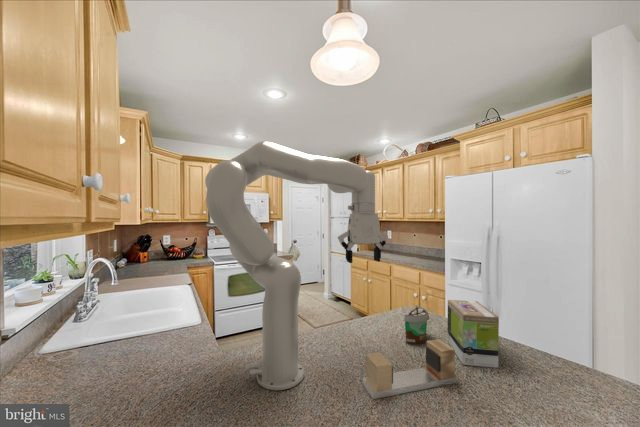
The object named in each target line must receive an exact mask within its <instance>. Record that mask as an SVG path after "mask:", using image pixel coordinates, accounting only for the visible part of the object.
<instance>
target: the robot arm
mask: <svg viewBox="0 0 640 427" xmlns="http://www.w3.org/2000/svg"><path fill="white" fill-rule="evenodd" d="M266 175H267V176H269V177H270V176H271V177H275V178H278V179H283V180H286V181H290V182H294V183H298V184H303V185H322V184H323V185H327V186H328V188H329V190H330V191H332V192H333V193H336V194H346V193H351V204H350V205H348V206H347V210H349V211H350V212H351V213H349V216H348V217H349V218H348V222H347V230H346V231H345V232H343V233H342V234H340V235H338V236H337V239H338V241H339V243H340V245H341V247H343V248H344V250H345V260H346V262H347V263H349V264H352V263H353V250H352V248H353V247H354V246H355V245H357V246H358V245H359V246H360V245H373V247H375V248H373V261H376V262H381V258H382V249H383V247H384V246H385V245H386V242H387V240H388V238H389V236H388V235H387V234H386V233H384V232H382V231H381V225H380V223H381V222H380V218H379V214H378V213H377V212H376V175H375V173H374V172H373V171H371V170H366V169H365V168H364V167H363V166H361V165H359V164H357V163H354V162H351V161H348V160H345V159H342V158H341V159H340V158H336V157H328V156H322V155H316V154H315V155H314V154H308V153H305V152H304V151H303V152H302V151H300V150H296V149H293V148H291V147H286V146H284V145H280V144H278V143H275V142H272V141H266V140H265V141H259V142H257V143H255V144H254V145H253V146H250V148H248V149H246V150H245V151H244V152H241V153H240V154H238V155H237V156H235V157H232V158H231V159H227V160H223V161H222V160H221V161H220V162H219V163H217V164H216V165H214V166H213V167H212V168H211V169H210V170H209V171H208V172H207V174H206V176H205V187H206V194H205V195H206V208H207V212H208V214H209V217H210V219H211V220H212V221H211V222H213V223H214V225H215V227H216V228H217V229H218V230H219V231H220V233H221V234H222V235H223V237H224V238H225V240H227V242H228V243H229V245H228V246H229V251H230V253H231V255H232V256H233V257H234V260H236V261H237V262H238V263H239V265H240V266H241V267H242V268H243V269H244V271H246V273H247V274H248V275H249V276H250V277H251V278H252V279H253V280H254V281H255V282H256V283H257V284H258V285H259V286H260V287H262V288H264V296H263V303H262V312H261V313H262V318H261V319H262V320H261V321H262V356H260V360H257V361H256V362H251V363H249V362H248V363H245V364H244V372H245V373H248V372H249V376H250V377H251V376H256V381H257V384H258V385H259V386H260V387H262V388H264V389H267V390H269V391H283V390H287V389H291V388H293V387H295V386H297V385H299V383H301V381H302V380H303V379H304V377H305V372H304V370H305V369H304V367H303V365H301V364H300V363H299V297H300V290H301V284H302V276H301V272H300V270H299V268H298V267H297V265H296V264H294V263H293V262H292V261H290V260H288V259H285V258H283V257H279V256H277V255H276V254H275V245H274V242H273V240H272V237H271V236H270V235H269V234H268V233H267V232H266V230H265V229H264V228H263V227H262V225H261V224H260V223H259V222H258V221H257V219H256V218H255V217H254V216H253V214H252V213H251V211H250V210H249V208H248V206H247V205H246V203H245V190H246V187H248V186H249V185H250V184H252V183H255V181H257V180H258V179H260V178H261V177H263V176H266ZM345 239H346V240H347V243H346V242H345Z"/></svg>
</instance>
